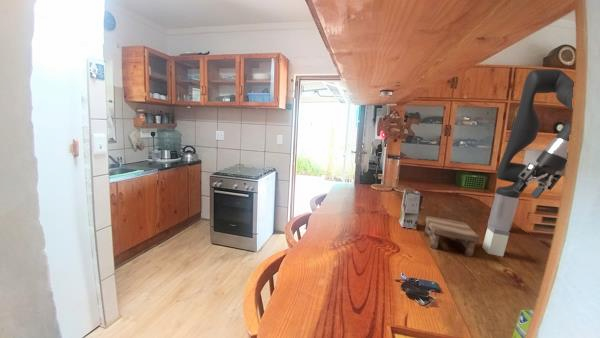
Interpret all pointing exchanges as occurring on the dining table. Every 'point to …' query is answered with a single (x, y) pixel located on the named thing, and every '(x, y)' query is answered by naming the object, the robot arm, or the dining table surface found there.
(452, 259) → the dining table surface
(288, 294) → the dining table surface
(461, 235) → the footstool
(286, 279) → the dining table surface
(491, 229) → the cream faceted block
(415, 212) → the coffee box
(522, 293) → the dining table surface
